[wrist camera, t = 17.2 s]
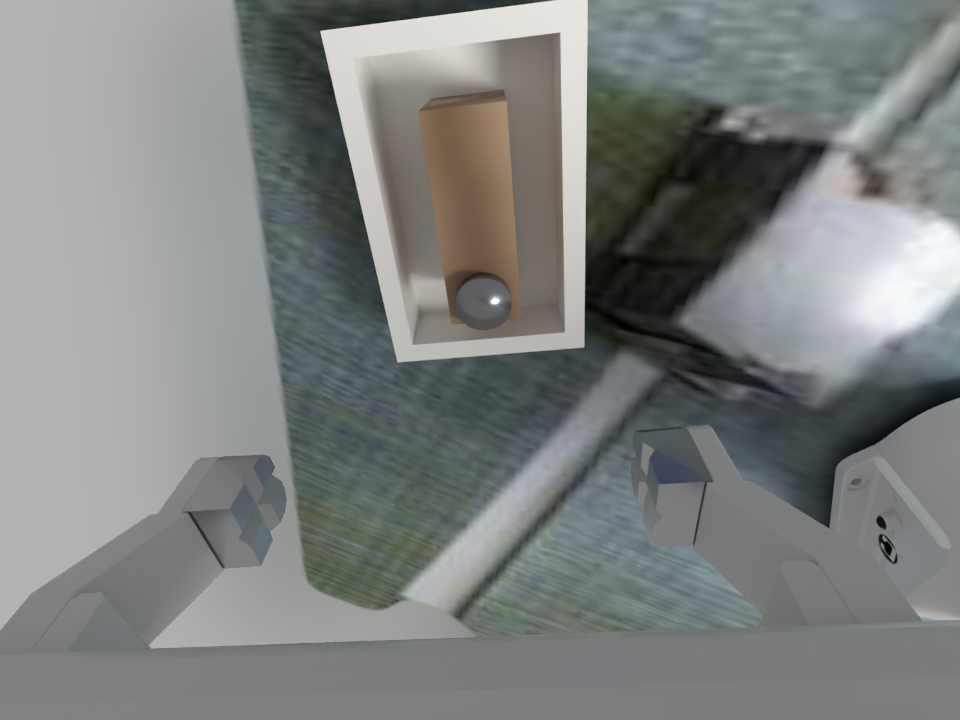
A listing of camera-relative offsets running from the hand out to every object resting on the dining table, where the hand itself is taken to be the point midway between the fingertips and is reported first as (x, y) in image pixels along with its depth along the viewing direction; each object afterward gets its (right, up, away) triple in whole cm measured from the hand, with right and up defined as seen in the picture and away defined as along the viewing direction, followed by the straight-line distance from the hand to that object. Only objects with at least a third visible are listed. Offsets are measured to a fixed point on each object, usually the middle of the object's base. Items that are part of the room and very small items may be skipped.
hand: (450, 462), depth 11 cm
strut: (+1, +12, +19) cm, 23 cm away
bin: (0, +13, +20) cm, 24 cm away
